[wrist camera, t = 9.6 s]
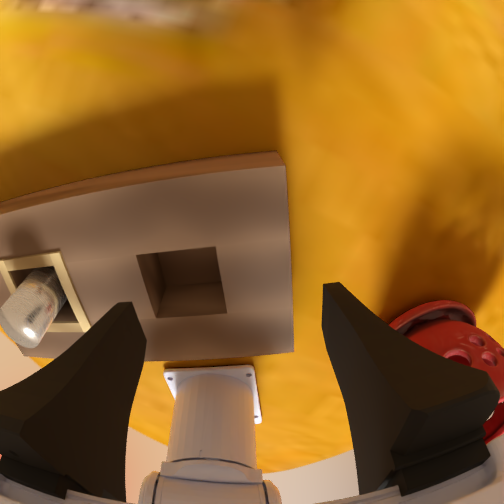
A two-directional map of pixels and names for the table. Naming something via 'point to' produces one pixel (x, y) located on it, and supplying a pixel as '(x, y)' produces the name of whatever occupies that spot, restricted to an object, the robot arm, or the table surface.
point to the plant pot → (457, 345)
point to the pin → (33, 307)
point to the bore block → (163, 255)
